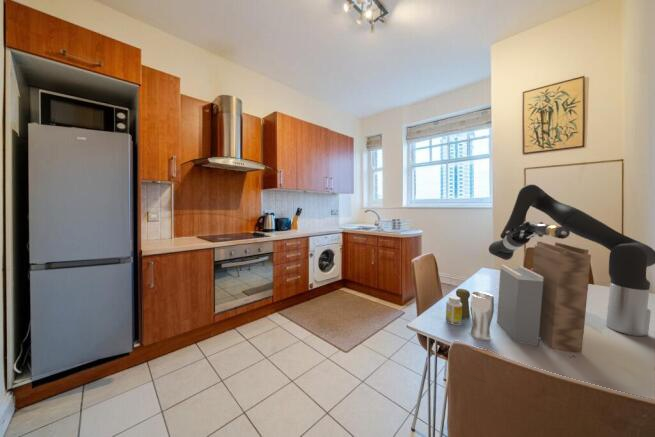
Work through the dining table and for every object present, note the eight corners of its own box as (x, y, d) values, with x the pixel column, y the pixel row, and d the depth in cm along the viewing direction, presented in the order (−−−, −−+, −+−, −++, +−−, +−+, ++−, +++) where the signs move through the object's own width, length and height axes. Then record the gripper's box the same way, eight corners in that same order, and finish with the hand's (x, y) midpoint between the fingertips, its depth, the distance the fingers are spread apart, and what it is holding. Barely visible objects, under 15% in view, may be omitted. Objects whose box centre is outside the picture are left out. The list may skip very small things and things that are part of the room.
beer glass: (470, 328, 92) (473, 290, 91) (492, 335, 87) (495, 294, 86) (467, 336, 86) (469, 295, 85) (490, 343, 82) (493, 300, 81)
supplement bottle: (463, 322, 96) (464, 297, 96) (459, 327, 92) (460, 301, 92) (448, 317, 100) (449, 293, 99) (443, 322, 96) (444, 297, 95)
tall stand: (553, 330, 91) (560, 242, 88) (581, 353, 77) (591, 250, 75) (528, 327, 93) (534, 241, 90) (551, 349, 79) (560, 248, 77)
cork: (472, 319, 99) (473, 292, 98) (456, 317, 100) (457, 291, 100) (466, 312, 105) (468, 287, 104) (451, 311, 106) (453, 286, 105)
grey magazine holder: (517, 324, 95) (521, 266, 93) (538, 345, 81) (543, 276, 80) (496, 322, 97) (500, 264, 95) (513, 341, 83) (518, 275, 82)
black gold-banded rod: (521, 230, 104) (521, 221, 103) (532, 231, 103) (533, 221, 102) (556, 238, 82) (557, 226, 81) (571, 239, 81) (572, 227, 80)
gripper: (496, 231, 115) (513, 215, 100) (531, 232, 112) (554, 216, 97) (499, 246, 112) (516, 232, 97) (535, 248, 109) (559, 233, 94)
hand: (535, 224), depth 97 cm, fingers closed on black gold-banded rod, 4 cm apart
